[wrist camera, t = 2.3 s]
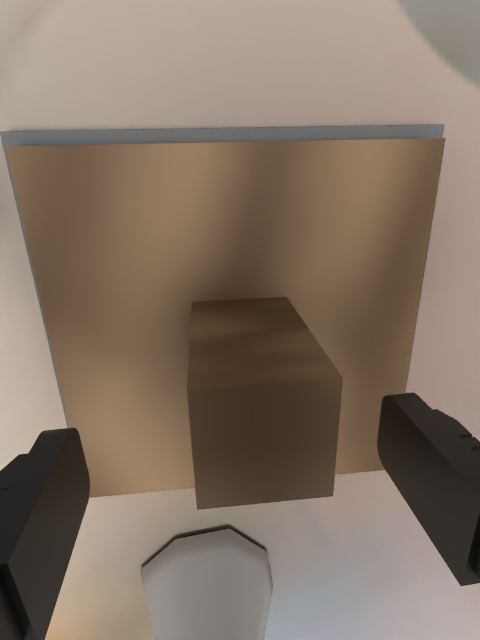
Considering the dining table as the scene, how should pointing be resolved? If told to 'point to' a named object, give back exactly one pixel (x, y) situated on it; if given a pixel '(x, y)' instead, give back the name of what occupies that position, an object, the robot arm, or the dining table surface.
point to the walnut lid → (229, 305)
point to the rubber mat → (205, 137)
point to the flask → (209, 588)
